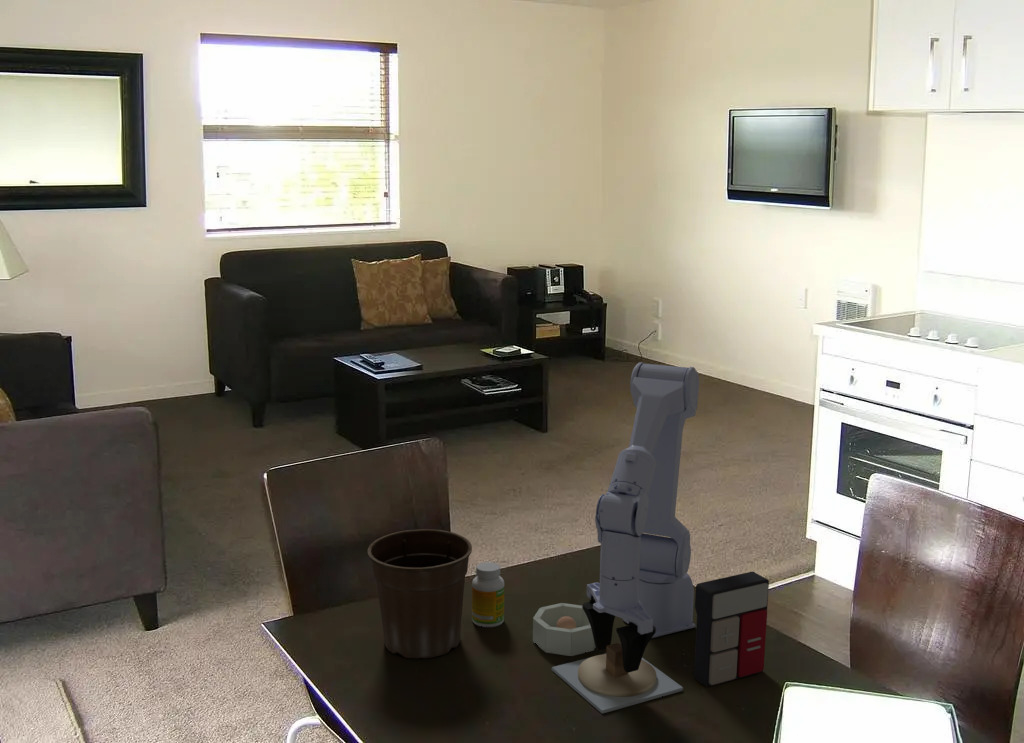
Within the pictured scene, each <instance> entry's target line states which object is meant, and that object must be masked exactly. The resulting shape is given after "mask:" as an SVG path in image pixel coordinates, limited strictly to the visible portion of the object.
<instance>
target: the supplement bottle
mask: <svg viewBox="0 0 1024 743" xmlns="http://www.w3.org/2000/svg"><path fill="white" fill-rule="evenodd" d="M475 570H476V571H475V573H476V574H475V575H476V576H475V577H474V578H473V579H472V583H471V621H472V623H474V625H476V626H478V627H481V626H482V627H481V628H494V627H498V626H500V625H502V624H503V623H504V621H505V580H504V579H503V577H502V576H501V565H500V564H498V563H497V562H493V561H492V562H491V561H490V562H489V561H488V562H487V561H485V562H484V561H483V562H480V563H478V564H477V565H476V568H475Z"/></svg>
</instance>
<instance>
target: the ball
mask: <svg viewBox="0 0 1024 743" xmlns="http://www.w3.org/2000/svg"><path fill="white" fill-rule="evenodd" d="M556 627H558V628H565V629H574V628H576V622H575V621H574V619H573V618H571V617H568V616H564V617H562V618H560V619H559V620H558V622H557V625H556Z"/></svg>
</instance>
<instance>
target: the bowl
mask: <svg viewBox="0 0 1024 743" xmlns="http://www.w3.org/2000/svg"><path fill="white" fill-rule="evenodd" d="M564 616H568V617H571V618H573V619H574V621H575V622H576V628H574V629H565V628H558V627H556V625H557V622H558V620H559V619H560V618H562V617H564ZM532 642H533V644H535V643H536V644H537V645H538V647H539V648H540V649H541V650H542V651H543V652H545V653H546V654H554V655H561V656H567V657H574V656H578V655H581V654H585V652H586V653H590V652H593V651H595V649H596V647H595V643H594V638H593V633H592V629H591V626H590V623H589V620H588V618H587V616H586V614H585V612H584V610H583V608H582V604H581V605H579V604H572V603H566V602H565V603H564V602H560V603H556V604H551V605H547V606H546V605H545V606H542V607H539V608H538V610H537V612H536V613H535V615H534V616H533V617H532ZM536 644H535V645H536ZM537 645H536V646H537Z"/></svg>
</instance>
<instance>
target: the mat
mask: <svg viewBox="0 0 1024 743" xmlns="http://www.w3.org/2000/svg"><path fill="white" fill-rule="evenodd" d="M603 654H604V653H602V654H601V655H603ZM591 657H592V656H590V657H587V658H583V659H580V660H579V659H578V660H576V661H575V660H574V661H571V662H567V663H562V664H558V665H555V666H551V671H552V672H553V673H555V675H556V676H558V677H559V678H560V680H561V679H562V681H563V682H565V683H566V684H567V685H568V686H569V687H571V689H572V690H574V691H575V692H576V693H578V695H580V696H581V697H582V698H583V699H584V700H585V701H586V702H588V703H589V704H590V705H591V706H593V707H594V708H595V709H596V710H597V711H598V712H599V713H600V714H602V715H603V714H605V713H609V712H613V711H617V710H621V709H623V708H626V707H631V706H634V705H637V704H641V703H645V702H648V701H651V700H654V699H659V698H662V696H663V697H665V696H666V697H667V696H669V695H672V694H676V693H680V692H683V691H684V687H683V686H682V685H680V684H679V683H677V682H676V681H675V680H674V679H672V678H671V677H669V676H668V675H667V674H665V673H664V672H663V671H661V670H660V669H659V668H658V667H656V666H654V665H653V664H652V663H650V661H648V660H646V659H645V658H644V657H642V660H644V661H646V662H647V663H649V664H650V665H651V666H652V667H653V668H654V669H655V671H656V683H655V685H654V687H653V688H652V689H651V690H649V691H647V692H645V693H643V694H640V695H636V696H630V697H612V696H606V695H602V694H598V693H595V692H593V691H591V690H589V689H587V688H586V687H584V686H583V685H582V684H581V683H580V681H579V679H578V668H579V666H580V664H581V663H582V662H583V661H585V660H586V659H588V658H591Z"/></svg>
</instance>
